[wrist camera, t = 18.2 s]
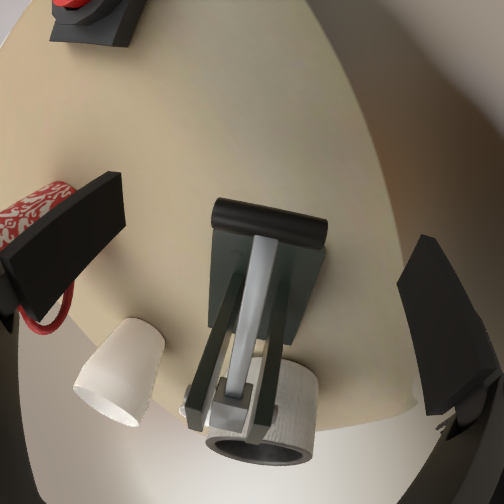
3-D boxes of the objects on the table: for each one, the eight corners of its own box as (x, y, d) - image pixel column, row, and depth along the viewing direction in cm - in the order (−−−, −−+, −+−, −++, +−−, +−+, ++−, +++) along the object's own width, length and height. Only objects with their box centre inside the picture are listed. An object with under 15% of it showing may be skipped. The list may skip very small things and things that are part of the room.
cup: (103, 316, 34) (61, 382, 24) (142, 303, 31) (93, 386, 21) (144, 357, 38) (113, 422, 28) (187, 351, 34) (155, 430, 24)
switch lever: (223, 194, 14) (210, 200, 11) (324, 215, 13) (331, 225, 11) (197, 396, 18) (188, 420, 16) (265, 412, 18) (262, 437, 15)
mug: (31, 194, 25) (-49, 258, 14) (65, 156, 21) (-43, 224, 10) (85, 277, 30) (23, 356, 19) (128, 258, 27) (53, 358, 16)
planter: (224, 389, 39) (206, 454, 30) (227, 343, 32) (201, 427, 22) (305, 403, 38) (298, 469, 28) (331, 360, 30) (328, 448, 21)
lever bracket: (216, 222, 23) (138, 362, 12) (325, 245, 22) (329, 406, 11) (210, 319, 30) (167, 434, 18) (292, 337, 29) (275, 459, 18)
